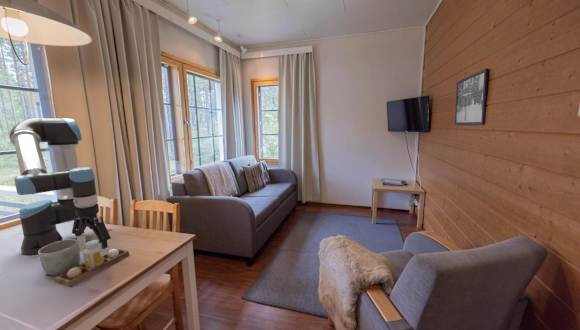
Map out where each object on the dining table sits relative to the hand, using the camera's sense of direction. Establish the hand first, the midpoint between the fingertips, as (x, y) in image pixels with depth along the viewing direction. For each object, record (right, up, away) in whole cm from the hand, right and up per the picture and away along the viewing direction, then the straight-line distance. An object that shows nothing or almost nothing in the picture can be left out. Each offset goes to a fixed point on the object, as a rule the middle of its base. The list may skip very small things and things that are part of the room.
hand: (93, 252), depth 105 cm
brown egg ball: (-2, -8, -6) cm, 11 cm away
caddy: (0, -7, +1) cm, 8 cm away
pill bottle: (0, -7, +1) cm, 7 cm away
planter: (-13, -8, 0) cm, 15 cm away
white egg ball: (+3, -6, +8) cm, 10 cm away
